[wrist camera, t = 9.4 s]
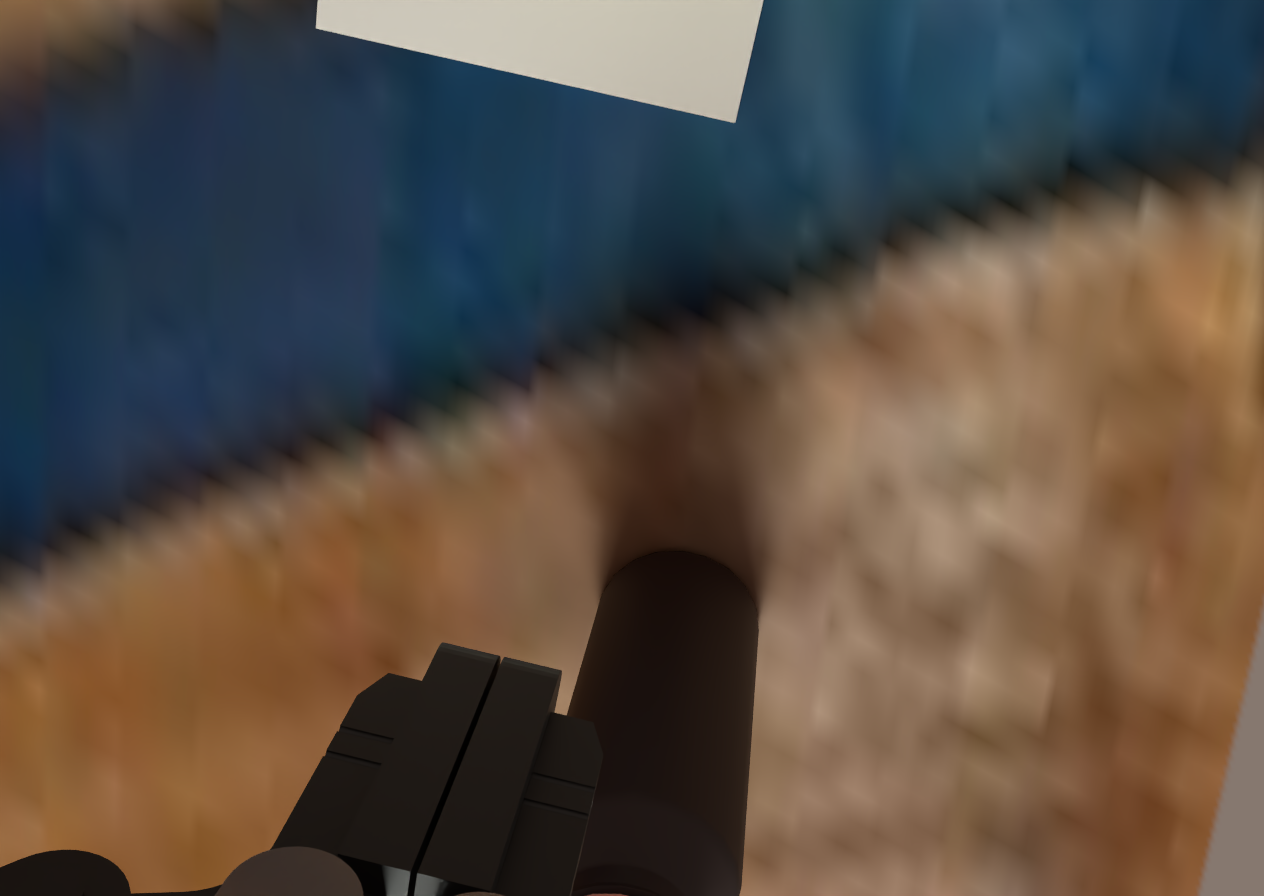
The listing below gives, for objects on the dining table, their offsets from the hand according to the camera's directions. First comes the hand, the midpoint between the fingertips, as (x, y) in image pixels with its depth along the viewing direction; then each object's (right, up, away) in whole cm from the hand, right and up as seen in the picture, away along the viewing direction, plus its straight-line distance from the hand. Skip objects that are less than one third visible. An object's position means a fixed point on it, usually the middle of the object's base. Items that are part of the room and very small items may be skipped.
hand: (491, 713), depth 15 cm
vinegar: (+4, -4, +36) cm, 37 cm away
